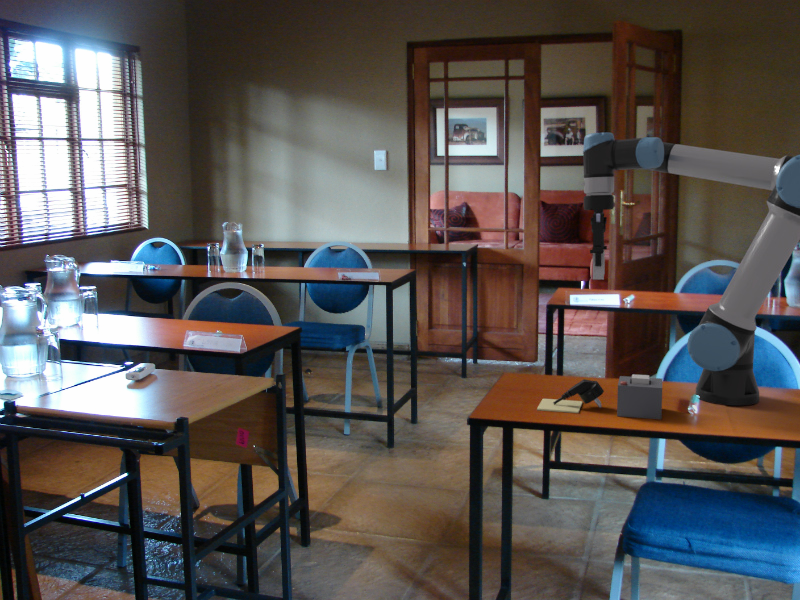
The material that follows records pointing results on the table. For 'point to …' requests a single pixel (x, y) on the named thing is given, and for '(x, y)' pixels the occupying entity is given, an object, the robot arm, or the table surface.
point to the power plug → (584, 392)
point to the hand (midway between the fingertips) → (598, 277)
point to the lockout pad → (560, 406)
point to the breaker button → (640, 379)
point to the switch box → (639, 398)
